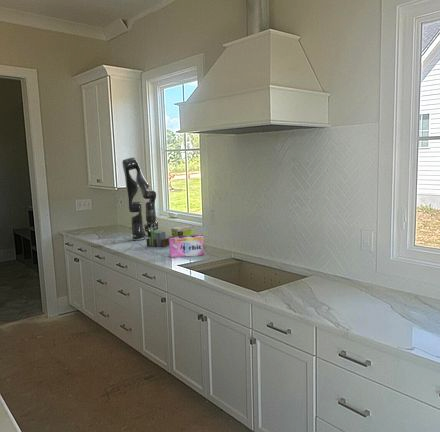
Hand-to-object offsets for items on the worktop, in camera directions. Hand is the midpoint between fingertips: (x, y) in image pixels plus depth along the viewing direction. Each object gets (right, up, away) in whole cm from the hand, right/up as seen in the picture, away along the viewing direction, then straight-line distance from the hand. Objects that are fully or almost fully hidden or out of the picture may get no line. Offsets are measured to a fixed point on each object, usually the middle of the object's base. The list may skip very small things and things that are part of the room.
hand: (152, 235), depth 326 cm
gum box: (+35, -13, -32) cm, 49 cm away
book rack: (+6, -9, -1) cm, 10 cm away
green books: (+3, -8, 0) cm, 8 cm away
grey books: (+8, -8, -2) cm, 11 cm away
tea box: (+25, -8, +3) cm, 26 cm away
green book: (0, -7, +1) cm, 8 cm away
